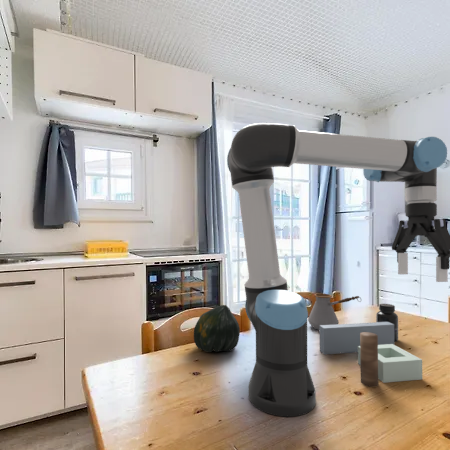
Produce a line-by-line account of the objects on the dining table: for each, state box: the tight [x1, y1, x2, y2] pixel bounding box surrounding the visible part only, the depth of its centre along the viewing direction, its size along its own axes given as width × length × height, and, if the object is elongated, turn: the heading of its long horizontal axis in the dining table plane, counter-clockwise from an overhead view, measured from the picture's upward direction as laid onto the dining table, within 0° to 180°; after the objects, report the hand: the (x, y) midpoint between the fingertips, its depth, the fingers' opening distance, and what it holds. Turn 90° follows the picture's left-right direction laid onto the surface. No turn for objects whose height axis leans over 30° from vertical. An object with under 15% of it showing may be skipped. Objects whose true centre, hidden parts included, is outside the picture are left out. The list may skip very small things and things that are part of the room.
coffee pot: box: [307, 293, 362, 331], centre depth 116 cm, size 21×12×15 cm, turn 36°
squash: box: [193, 304, 241, 353], centre depth 99 cm, size 14×15×15 cm
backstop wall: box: [318, 321, 395, 355], centre depth 97 cm, size 24×3×8 cm, turn 99°
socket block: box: [357, 343, 423, 384], centre depth 83 cm, size 11×11×5 cm
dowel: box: [360, 332, 379, 388], centre depth 77 cm, size 4×4×12 cm
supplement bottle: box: [375, 303, 399, 343], centre depth 107 cm, size 7×7×12 cm
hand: (420, 277), depth 86 cm, fingers open, 13 cm apart
